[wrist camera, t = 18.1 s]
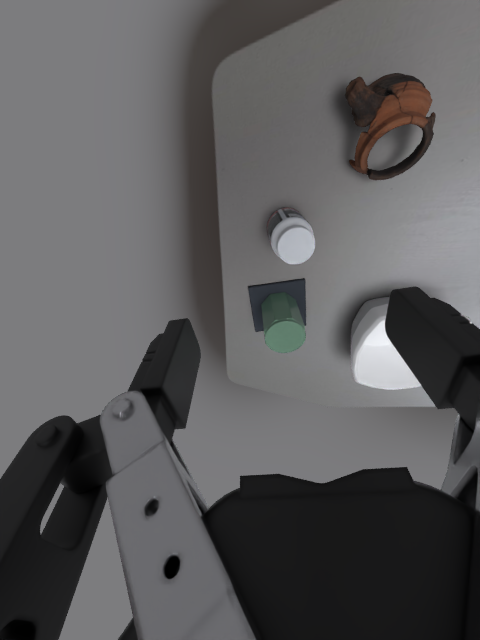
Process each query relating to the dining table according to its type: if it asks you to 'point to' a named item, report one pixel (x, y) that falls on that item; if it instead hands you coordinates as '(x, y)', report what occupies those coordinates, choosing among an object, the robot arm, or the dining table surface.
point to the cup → (282, 323)
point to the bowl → (377, 350)
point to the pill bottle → (290, 236)
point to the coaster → (263, 291)
